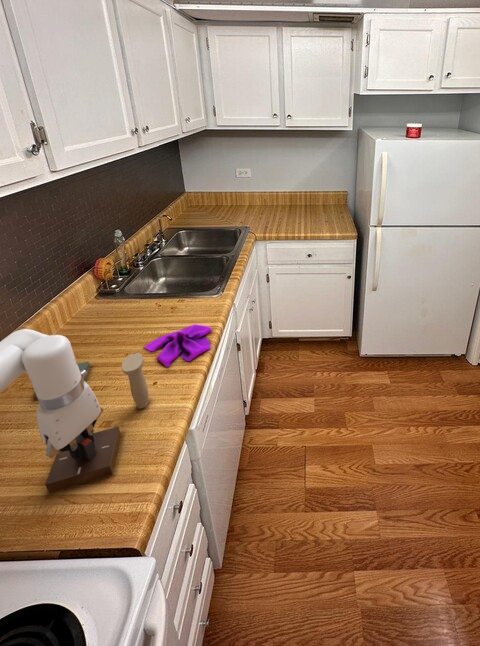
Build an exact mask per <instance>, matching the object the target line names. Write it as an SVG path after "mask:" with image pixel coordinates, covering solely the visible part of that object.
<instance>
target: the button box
mask: <svg viewBox="0 0 480 646" xmlns="http://www.w3.org/2000/svg"><path fill="white" fill-rule="evenodd" d="M77 365H78V368H79V371H82V370H86V371H87V375H85V377H84V378H83V380H84V381H85V382H86V379H87V376H88V374H89V372H90V369H91V365H90V362H89V361H84V362H79V363H77ZM33 394H34V396H35V399H36V400H38V398H37V396H36V393H35V392H34V393H33Z"/></svg>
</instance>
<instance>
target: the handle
mask: <svg viewBox="0 0 480 646" xmlns="http://www.w3.org/2000/svg"><path fill="white" fill-rule="evenodd" d="M144 364H145V359H144V355H142V353H140V352H135V353H131V354H129V355H127V356H126V357H125V358H124V359H123V360H122V362H121V371H122V373H123V374H124V375H126V376H127V377H128V382H129V388H130V393H131V396H132V399H133V402H134V404H135V406H136V407H137V408H138V409H139V410H141V409H144V408H147V406H148V405H149V404H150V396H149V395H150V393H149V387H148V384H147V381H146V378H145V374H144V371H143V366H144Z"/></svg>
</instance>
